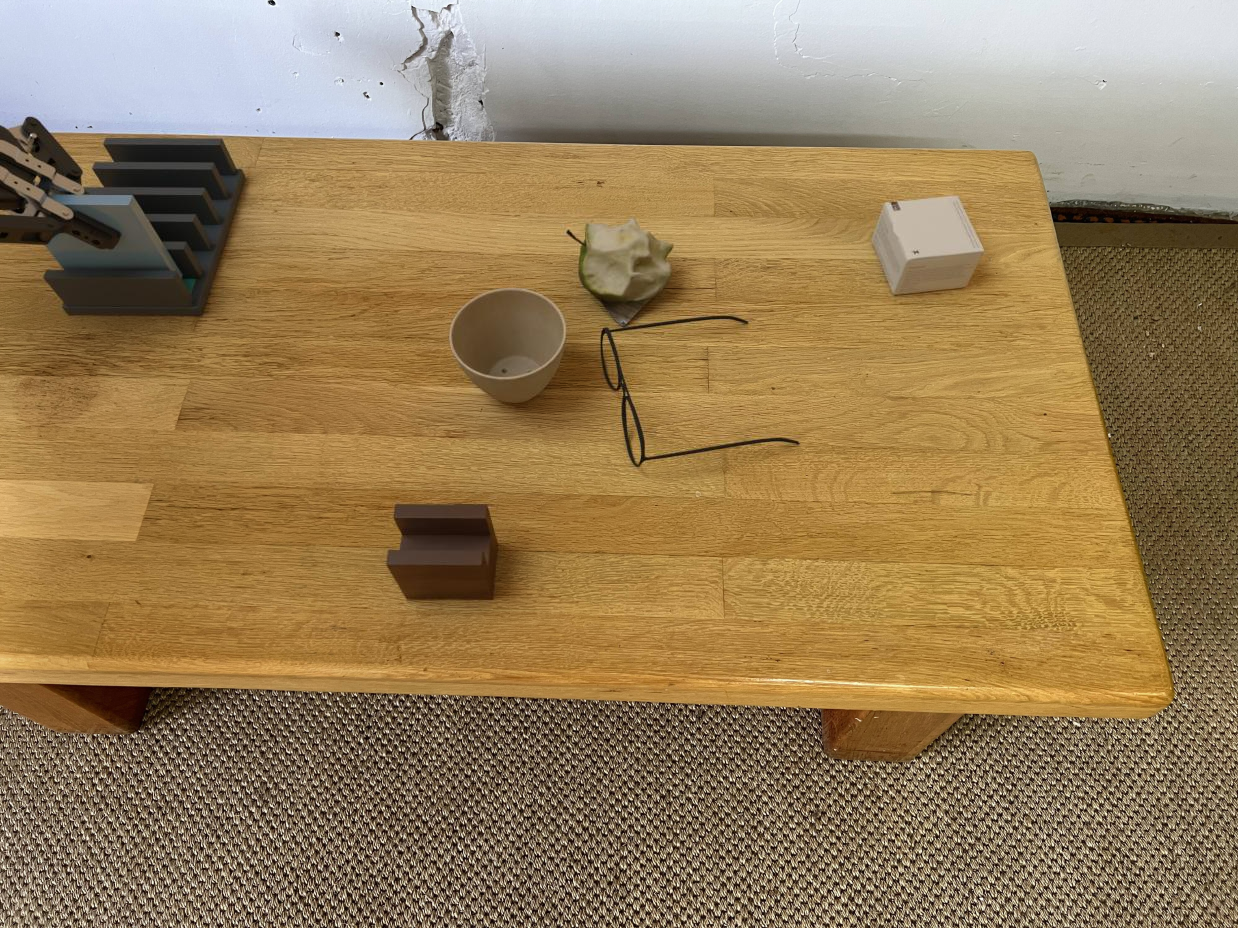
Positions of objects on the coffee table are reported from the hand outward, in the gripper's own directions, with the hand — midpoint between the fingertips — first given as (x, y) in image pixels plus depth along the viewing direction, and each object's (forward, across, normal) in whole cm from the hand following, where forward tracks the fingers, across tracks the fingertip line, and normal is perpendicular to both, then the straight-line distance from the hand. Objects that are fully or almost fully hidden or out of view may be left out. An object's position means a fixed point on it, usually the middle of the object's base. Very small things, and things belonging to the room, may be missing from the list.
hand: (119, 234), depth 77 cm
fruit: (+38, -2, +26) cm, 46 cm away
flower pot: (+31, +10, +19) cm, 38 cm away
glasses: (+43, +11, +31) cm, 54 cm away
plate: (+3, 0, -6) cm, 6 cm away
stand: (+28, +29, +16) cm, 43 cm away
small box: (+59, -5, +47) cm, 76 cm away
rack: (+5, -7, -7) cm, 11 cm away
